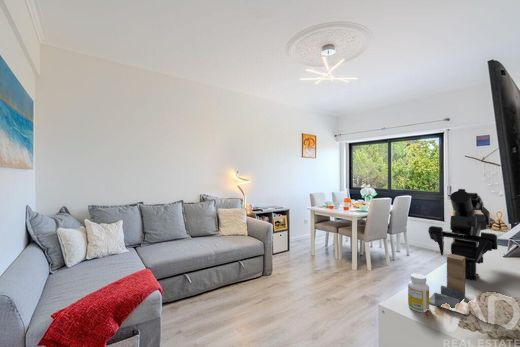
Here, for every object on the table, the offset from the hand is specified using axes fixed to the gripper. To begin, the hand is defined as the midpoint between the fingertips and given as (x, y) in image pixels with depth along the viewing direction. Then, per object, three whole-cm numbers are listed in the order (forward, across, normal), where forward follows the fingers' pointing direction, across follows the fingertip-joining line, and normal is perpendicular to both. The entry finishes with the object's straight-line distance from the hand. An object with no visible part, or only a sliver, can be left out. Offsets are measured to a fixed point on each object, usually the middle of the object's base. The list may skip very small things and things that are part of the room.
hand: (458, 258), depth 86 cm
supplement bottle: (+23, -7, -6) cm, 25 cm away
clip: (+16, 0, 0) cm, 16 cm away
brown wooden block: (+11, 0, +4) cm, 12 cm away
